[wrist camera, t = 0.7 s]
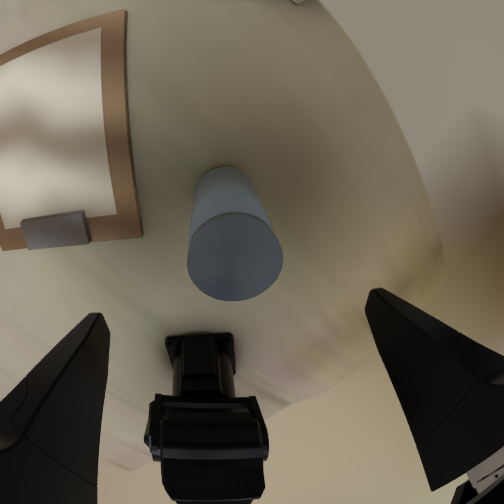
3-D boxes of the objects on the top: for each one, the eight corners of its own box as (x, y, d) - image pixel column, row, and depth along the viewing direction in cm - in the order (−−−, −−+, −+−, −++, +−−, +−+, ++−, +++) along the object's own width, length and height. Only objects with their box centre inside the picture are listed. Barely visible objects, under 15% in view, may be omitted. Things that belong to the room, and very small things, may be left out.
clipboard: (143, 233, 20) (140, 242, 19) (5, 247, 18) (-2, 255, 17) (127, 11, 12) (121, 6, 11) (-26, 72, 10) (-35, 73, 9)
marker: (251, 212, 21) (280, 297, 13) (197, 215, 20) (193, 304, 12) (251, 160, 19) (285, 217, 11) (193, 162, 18) (181, 223, 10)
